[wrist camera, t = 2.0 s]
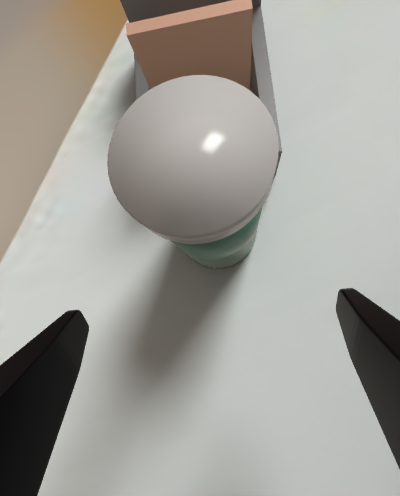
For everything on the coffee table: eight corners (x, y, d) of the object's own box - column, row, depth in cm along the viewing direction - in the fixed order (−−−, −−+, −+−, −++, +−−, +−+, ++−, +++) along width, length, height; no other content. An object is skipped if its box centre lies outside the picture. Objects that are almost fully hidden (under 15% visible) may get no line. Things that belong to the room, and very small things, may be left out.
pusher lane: (275, 176, 23) (289, 123, 16) (155, 192, 24) (120, 150, 17) (253, 23, 25) (258, -78, 19) (148, 45, 27) (116, -42, 20)
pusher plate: (248, 116, 24) (252, 8, 15) (168, 130, 24) (126, 35, 16) (247, 108, 24) (250, -4, 15) (167, 121, 25) (126, 23, 16)
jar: (245, 281, 21) (250, 257, 9) (169, 258, 23) (84, 210, 10) (268, 204, 22) (298, 89, 10) (192, 185, 23) (139, 63, 11)
